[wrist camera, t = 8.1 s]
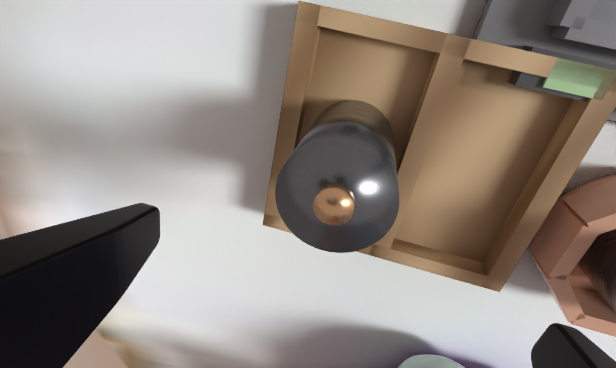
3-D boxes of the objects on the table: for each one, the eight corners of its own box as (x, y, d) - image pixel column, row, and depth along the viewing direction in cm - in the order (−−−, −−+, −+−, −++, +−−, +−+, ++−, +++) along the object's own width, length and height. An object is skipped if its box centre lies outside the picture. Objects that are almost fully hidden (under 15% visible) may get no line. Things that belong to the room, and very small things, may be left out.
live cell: (404, 111, 17) (419, 165, 10) (379, 187, 19) (378, 274, 12) (319, 91, 17) (281, 131, 11) (304, 167, 19) (263, 241, 13)
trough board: (605, 68, 15) (635, 74, 13) (489, 268, 21) (499, 291, 19) (307, 2, 16) (298, 0, 15) (272, 208, 22) (262, 224, 20)
